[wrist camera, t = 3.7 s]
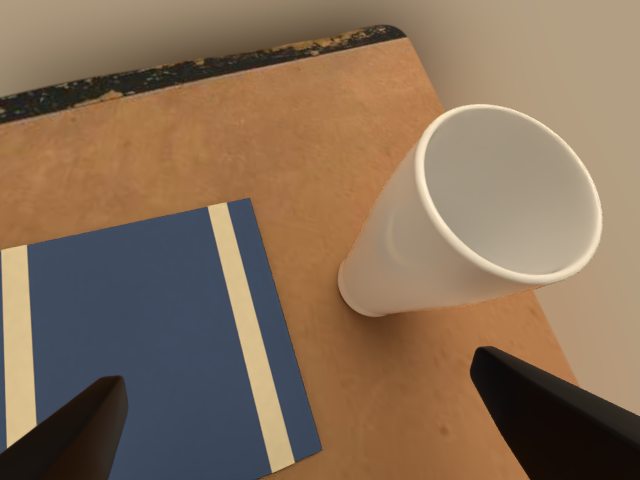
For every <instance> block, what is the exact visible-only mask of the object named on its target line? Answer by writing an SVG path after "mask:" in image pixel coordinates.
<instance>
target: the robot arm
mask: <svg viewBox="0 0 640 480" xmlns="http://www.w3.org/2000/svg"><path fill="white" fill-rule="evenodd" d="M470 376H471V379H472V381H473V383H474V385H475V387H476V389H477V391H478V393H479V394H480V396H481V398H482V400H483V402H484V404H485V406H486V407H487V409H488V411H489V413H490V415H491V417H492V419H493V421H494V422H495V424H496V426H497V428H498V430H499V431H500V433H501V435H502V436H503V438H504V440H505V441H506V443H507V444H508V446H509V448H510V449H511V451H512V452H513V454H514V455H515V457H516V458H517V460H518V462H519V463H520V465H521V466H522V468H523V469H524V471H525V472H526V474H527V475H528V477H529V479H530V480H640V416H638V415H636V414H634V413H632V412H630V411H627V410H625V409H623V408H621V407H619V406H617V405H615V404H613V403H611V402H608V401H607V400H604V399H602V398H600V397H598V396H596V395H594V394H592V393H590V392H588V391H586V390H583V389H581V388H579V387H577V386H575V385H573V384H571V383H569V382H567V381H565V380H562V379H560V378H558V377H556V376H554V375H552V374H550V373H548V372H546V371H544V370H541V369H539V368H537V367H535V366H533V365H531V364H529V363H527V362H525V361H523V360H520V359H518V358H516V357H514V356H512V355H510V354H508V353H506V352H504V351H502V350H499V349H497V348H495V347H493V346H484V347H478V348H477V349H476V351H475V354H474V357H473V361H472V364H471V368H470ZM127 414H128V397H127V392H126V386H125V380H124V378H123V376H121V375H115V376H104V377H101V378H99V379H97V380H96V381H95V382H94V383H92V384H91V385H90V386H88V387H87V388H86V389H84V390H83V391H82V392H80V393H79V394H78V395H76V396H75V397H74V398H73V399H71V400H70V401H69V402H67V403H66V404H65V405H63V406H62V407H61V408H59V409H58V410H57V411H55V412H54V413H53V414H52V415H50V416H49V417H48V418H46V419H45V420H44V421H42V422H41V423H40V424H38V425H37V426H36V427H34V428H33V429H32V430H31V431H29V432H28V433H27V434H25V435H24V436H23V437H21V438H20V439H19V440H17V441H16V442H15V443H13V444H12V445H11V446H10V447H8V448H7V449H6V450H4V451H3V452H2V453H0V480H108V479H109V476H110V472H111V469H112V465H113V462H114V458H115V455H116V452H117V448H118V445H119V441H120V438H121V435H122V431H123V428H124V424H125V421H126V417H127Z"/></svg>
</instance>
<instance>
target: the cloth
mask: <svg viewBox="0 0 640 480" xmlns="http://www.w3.org/2000/svg"><path fill="white" fill-rule="evenodd" d="M115 375H121V376H123V378H124V380H125V386H126V392H127V397H128V414H127V417H126V421H125V424H124V428H123V431H122V435H121V438H120V441H119V445H118V448H117V452H116V455H115V458H114V462H113V465H112V469H111V472H110V476H109V479H108V480H257V479H259V478H261V477H263V476H266V475H268V474H270V473H274V472H276V471H278V470H280V469H283V468H285V467H287V466H289V465H292V464H294V463H295V462H297V461H299V460H301V459H304V458H306V457H308V456H310V455H313V454H315V453H317V452H319V451H321V450H322V447H321V443H320V440H319V436H318V433H317V429H316V426H315V422H314V419H313V416H312V412H311V409H310V405H309V402H308V398H307V395H306V391H305V388H304V384H303V381H302V377H301V374H300V370H299V367H298V364H297V360H296V357H295V353H294V350H293V346H292V343H291V339H290V336H289V332H288V329H287V325H286V322H285V319H284V315H283V312H282V308H281V305H280V301H279V298H278V294H277V291H276V287H275V284H274V280H273V277H272V273H271V270H270V267H269V263H268V260H267V256H266V253H265V249H264V246H263V242H262V239H261V235H260V232H259V228H258V225H257V221H256V218H255V215H254V211H253V208H252V204H251V201H250V198H247V199H242V200H238V201H233V202H228V203H226V202H225V203H221V204H216V205H211V206H208V207H205V208H200V209H195V210H191V211H186V212H181V213H177V214H172V215H167V216H162V217H158V218H153V219H148V220H144V221H139V222H134V223H129V224H125V225H120V226H115V227H111V228H106V229H101V230H97V231H92V232H87V233H82V234H78V235H73V236H68V237H64V238H59V239H54V240H49V241H45V242H40V243H35V244H31V245H23V246H18V247H13V248H9V249H4V250H1V251H0V453H2V452H3V451H4V450H6V449H7V448H8V447H10V446H11V445H12V444H13V443H15V442H16V441H17V440H19V439H20V438H21V437H23V436H24V435H25V434H27V433H28V432H29V431H31V430H32V429H33V428H34V427H36V426H37V425H38V424H40V423H41V422H42V421H44V420H45V419H46V418H48V417H49V416H50V415H52V414H53V413H54V412H55V411H57V410H58V409H59V408H61V407H62V406H63V405H65V404H66V403H67V402H69V401H70V400H71V399H73V398H74V397H75V396H76V395H78V394H79V393H80V392H82V391H83V390H84V389H86V388H87V387H88V386H90V385H91V384H92V383H94V382H95V381H96V380H97V379H99V378H101V377H104V376H115Z"/></svg>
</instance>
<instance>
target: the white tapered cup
mask: <svg viewBox="0 0 640 480" xmlns="http://www.w3.org/2000/svg"><path fill="white" fill-rule="evenodd" d="M602 224H603V219H602V208H601V203H600V199H599V195H598V192H597V189H596V187H595V184H594V182H593V180H592V178H591V176H590V174H589V172H588V171H587V169H586V167H585V165H584V164H583V163H582V161H581V160H580V158H579V157H578V156H577V154H576V153H575V152H574V151H573V150H572V149H571V148H570V146H569V145H568V144H567V143H566V142H564V141H563V139H562V138H560V137H559V136H558V135H557V134H556V133H555V132H553V131H552V130H551V129H549V128H548V127H546V126H545V125H543V124H542V123H540V122H539V121H537V120H535V119H533V118H532V117H530V116H527V115H525V114H523V113H521V112H518V111H516V110H513V109H509V108H506V107H502V106H496V105H488V104H473V105H466V106H461V107H457V108H454V109H452V110H450V111H447V112H445V113H444V114H442V115H441V116H439V117H438V118H436V119H435V120H434V121H433V122H432V123H431V124H430V125H429V126H428V127H427V128H426V130H425V131H424V133H423V134H422V135H421V136H420V137H419V139H418V140H417V141H416V142H415V143H414V145H413V146H412V147H411V148H410V150H409V151H408V152H407V154H406V155H405V156H404V158H403V159H402V160H401V162H400V163H399V164H398V166H397V167H396V168H395V170H394V171H393V173H392V174H391V175H390V177H389V178H388V180H387V181H386V183H385V185H384V186H383V188H382V190H381V191H380V193H379V195H378V197H377V198H376V200H375V202H374V204H373V206H372V208H371V210H370V212H369V214H368V216H367V218H366V220H365V222H364V224H363V226H362V228H361V230H360V232H359V234H358V236H357V238H356V240H355V241H354V243H353V245H352V247H351V249H350V251H349V253H348V254H347V256H346V257H345V258H344V260H343V261H342V263H341V265H340V268H339V271H338V287H339V290H340V293H341V295H342V297H343V299H344V300H345V302H346V303H347V304H348V305H349V306H350V307H351V308H352V309H353V310H355V311H356V312H358V313H360V314H362V315H365V316H370V317H381V316H385V315H389V314H394V313H403V312H413V311H423V310H435V309H446V308H455V307H463V306H469V305H475V304H480V303H486V302H490V301H495V300H499V299H503V298H506V297H510V296H514V295H517V294H521V293H524V292H527V291H531V290H534V289H537V288H540V287H543V286H546V285H549V284H553V283H557V282H560V281H563V280H565V279H567V278H569V277H571V276H573V275H575V274H576V273H578V272H579V271H580V270H582V269H583V268H584V267H585V266H586V265H587V264H588V262H589V261H590V260H591V258H592V257H593V256H594V254H595V252H596V250H597V248H598V245H599V242H600V238H601V234H602Z"/></svg>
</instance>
